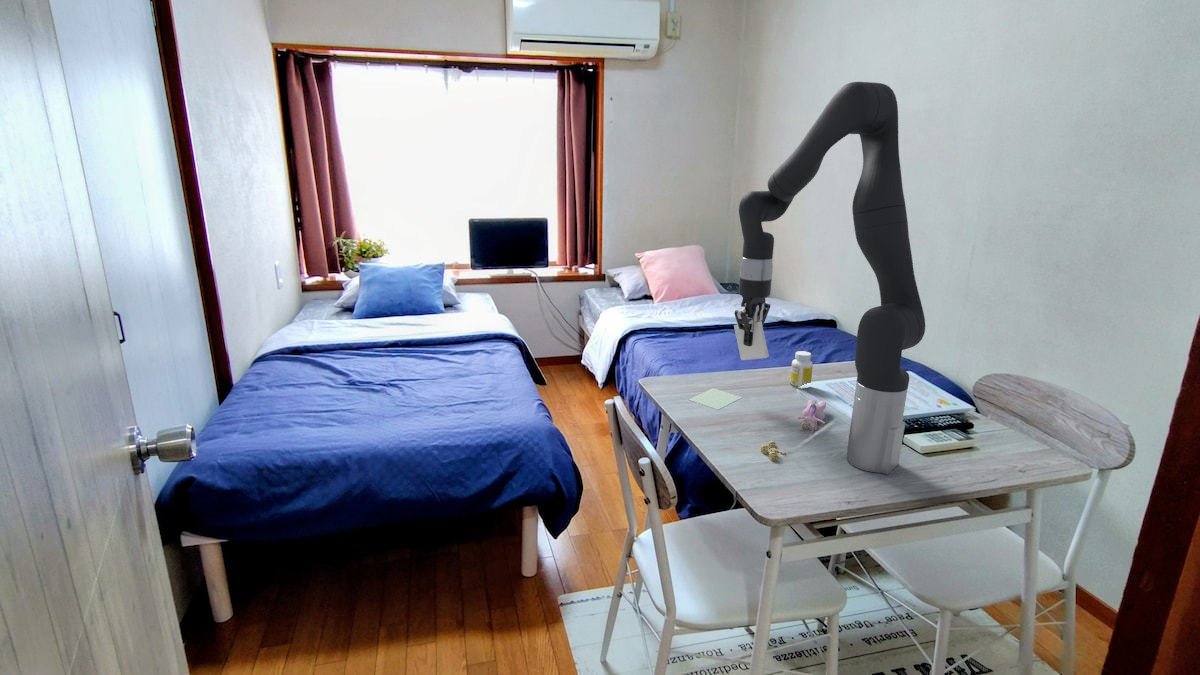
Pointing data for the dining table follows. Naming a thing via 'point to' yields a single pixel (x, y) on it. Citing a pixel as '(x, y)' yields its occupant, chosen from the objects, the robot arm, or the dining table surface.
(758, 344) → the tile
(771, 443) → the yellow speckled pebbles
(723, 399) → the mat
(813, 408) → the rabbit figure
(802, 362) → the supplement bottle
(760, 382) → the dining table surface
